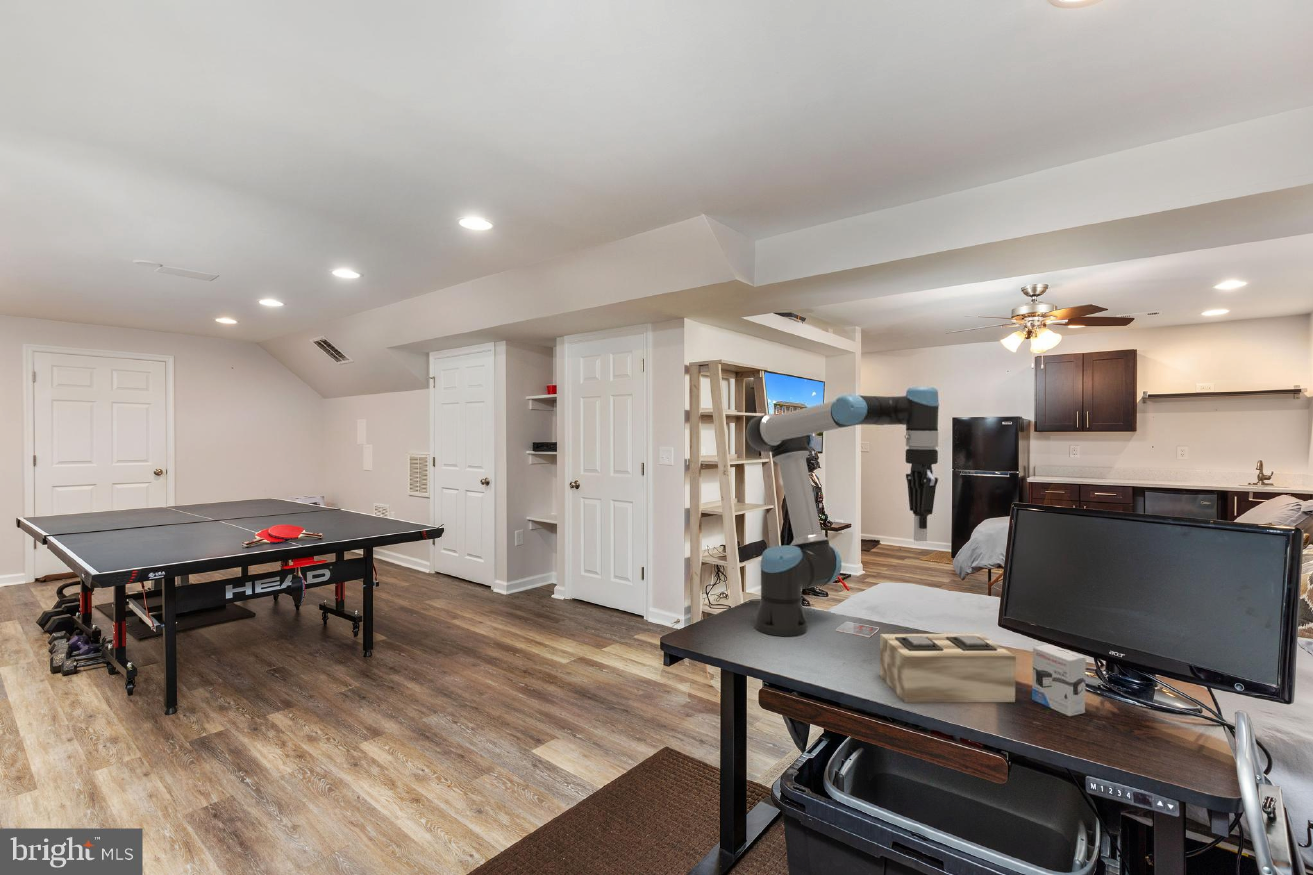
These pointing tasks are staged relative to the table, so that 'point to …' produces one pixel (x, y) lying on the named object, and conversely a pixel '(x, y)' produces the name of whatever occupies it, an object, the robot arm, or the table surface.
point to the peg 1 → (918, 641)
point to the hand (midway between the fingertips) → (920, 540)
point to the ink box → (1059, 679)
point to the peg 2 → (970, 641)
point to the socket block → (947, 670)
